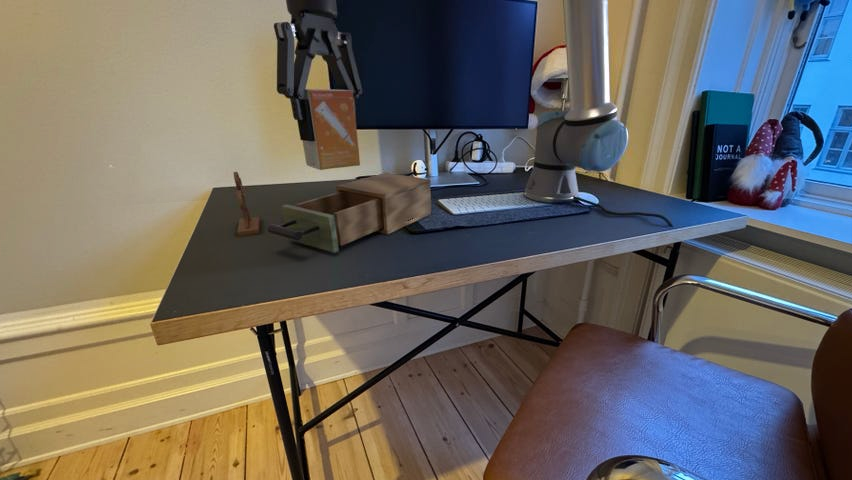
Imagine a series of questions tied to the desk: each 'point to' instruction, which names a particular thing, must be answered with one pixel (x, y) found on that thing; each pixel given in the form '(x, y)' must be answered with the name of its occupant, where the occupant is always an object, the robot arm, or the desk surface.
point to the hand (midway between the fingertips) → (330, 137)
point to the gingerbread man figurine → (245, 212)
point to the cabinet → (395, 197)
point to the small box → (332, 129)
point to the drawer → (331, 220)
